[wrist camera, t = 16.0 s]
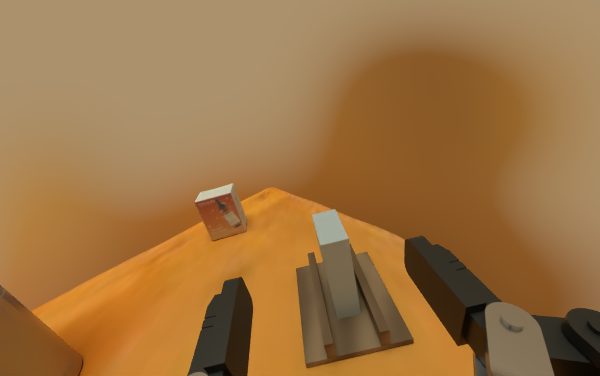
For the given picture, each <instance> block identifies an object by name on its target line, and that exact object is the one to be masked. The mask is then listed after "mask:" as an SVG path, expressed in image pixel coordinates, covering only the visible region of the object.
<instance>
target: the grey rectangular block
mask: <svg viewBox="0 0 600 376" xmlns="http://www.w3.org/2000/svg"><path fill="white" fill-rule="evenodd" d="M312 217H313V221H314V225H315V230H316V234H317V238H318V242H319V246H320V251H321V255H322V259H323V263H324V267H325V272H326V276H327V280H328V284H329V288H330V292H331V296H332V300H333V304H334V308H335V312H336V315H337V319H341V318H345V317H350V316H354V315H358V314H361V311H360V305H359V299H358V293H357V287H356V281H355V275H354V268H353V262H352V256H351V250H350V244H349V238H348V236H347V234H346V232H345V230H344V227H343V225H342V223H341V221H340V219H339V217H338V214H337V212H336V210H335V209H334V210H330V211H325V212H321V213H317V214H313V215H312Z"/></svg>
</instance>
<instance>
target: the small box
mask: <svg viewBox="0 0 600 376" xmlns="http://www.w3.org/2000/svg"><path fill="white" fill-rule="evenodd" d="M195 205H196V207H197V209H198V211H199V213H200V215H201V218H202V220H203V222H204V224H205V226H206V228H207V230H208V233H209V235H210V237H211V239H212V241H214V240H217V239H221V238H224V237H228V236H232V235H235V234H239V233H244V232H246V224H247V218H246V216H245V213H244V210H243V208H242V205H241V202H240V200H239V197H238V195H237V192H236V189H235V186H234V184H229V185H227V186H223V187H220V188H216V189H212V190H208V191H203V192H200V194H199V195H198V197H197V199H196V201H195Z"/></svg>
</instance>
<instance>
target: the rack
mask: <svg viewBox="0 0 600 376" xmlns="http://www.w3.org/2000/svg"><path fill="white" fill-rule="evenodd" d="M350 250H351V256H352V262H353V268H354V275H355V281H356V287H357V293H358V299H359V305H360V311H361V314H358V315H354V316H350V317H345V318H341V319H337V315H336V312H335V308H334V304H333V300H332V296H331V292H330V288H329V284H328V280H327V276H326V272H325V267H324V263H323V262H322V263H318V264H317V263H316V259H315V255H314V252H313V253H309V254H308V258H309V264H310V265H309V266H305V267H301V268H297V269H296V272H297V283H298V293H299V303H300V313H301V323H302V333H303V343H304V353H305V364H306V366H307V368H308V367H313V366H317V365H321V364H326V363H330V362H334V361H339V360H343V359H347V358H351V357H356V356H360V355H364V354H369V353H373V352H377V351H382V350H386V349H390V348H395V347H399V346H403V345H407V344H412V343H413V337H412V336H411V334H410V332H409V330H408V328H407V326H406V324H405V322H404V321H403V319H402V317H401V315H400V313H399V311H398V309H397V307H396V306H395V304H394V302H393V300H392V298H391V296H390V294H389V292H388V291H387V289H386V287H385V285H384V283H383V281H382V279H381V277H380V275H379V274H378V272H377V270H376V268H375V266H374V264H373V262H372V260H371V259H370V257H369V255H368V253H367V252H364V253H359V254H355V253H354V251H353V249H352V246H351V244H350Z"/></svg>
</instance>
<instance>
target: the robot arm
mask: <svg viewBox="0 0 600 376" xmlns="http://www.w3.org/2000/svg"><path fill="white" fill-rule="evenodd" d="M404 263H405V267H406V270H407V272H408V274H409V276H410V277H411V279H412V280H413V282H414V283H415V285H416V286H417V288H418V289H419V290H420V292H421V293H422V295H423V296H424V298H425V299H426V301H427V302H428V304H429V305H430V306H431V308H432V309H433V311H434V312H435V314H436V315H437V317H438V318H439V319H440V321H441V322H442V324H443V325H444V327H445V328H446V330H447V331H448V332H449V334H450V335H451V337H452V338H453V340H454V341H455V343H456V344H457V345H458V346H460V345H465V344H469V346H470V347H471V348H472V350H473V351H474V352H473V365H474V376H600V312H598V311H594V310H590V309H585V308H576V309H572V310H571V311H569V312H568V313H567V315H566V317H565V318H559V317H546V316H536V315H530V314H528V313H527V312H526V311H524V310H522V309H520V308H519V307H516V306H514V305H511V304H508V303H504V302H502V301H501V300H500V299H498V298H497V297H496V296H495V295H494V294H493V293H492V292H491V291H490V290H489V289H488V288H487V287H486V286H485V285H484V284H483V283H482V282H481V281H480V280H479V279H478V278H477V277H476V276H475V275H474V274H473V273H472V272H471V271H470V270H469V269H467V268H466V266H465V265H464V264H463V263H461V262H459V260H458V259H457V258H456V257H455V256H454V255H453V254H452V253H451V252H450V251H449V250H447V249H445V248H443V247H442V246H440V245H438V244H436V245H431V243H429V241H428V240H427V239H426V238H425V237H423V236H419V237H415V238H410V239H406V240H405V257H404ZM252 316H253V303H252V299H251V296H250V294H249V291H248V289H247V287H246V285H245V283H244V280H243V278H242V277H239V278H235V279H230V280H226V281H225V282H224V284H223V288H222V292H221V294H217V295H215V296H214V298H213V299H212V301H211V302H210V304H209V305H208V307H207V311H206V314H205V320H204V321H203V325H202V330H201V332H200V335H199V339H198V342H197V346H196V349H195V353H194V356H193V359H192V363H191V366H190V370H189V373H188V375H187V376H247V373H248V361H249V350H250V339H251V327H252ZM81 367H82V357H81V356H80V355H79V354H78V353H77V352H76V351H75V350H74V349H73V348H71V347H70V346H69V345H68V344H67V343H66V342H65V341H64V340H63V339H62V338H60V337H59V336H58V335H57V334H56V333H55V332H54V331H52V330H51V329H50V328H49V327H48V326H47V325H46V324H44V323H43V322H42V321H41V320H40V319H39V318H38V317H36V316H35V315H34V314H33V313H32V312H31V311H29V310H28V309H27V308H26V307H25V306H24V305H23V304H21V303H20V302H19V301H18V300H17V299H16V298H15V297H14V296H12V295H11V294H10V293H9V292H8V291H7V290H6V289H4V288H3V287H2V286H1V285H0V376H78V374H79V372H80V370H81Z"/></svg>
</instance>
